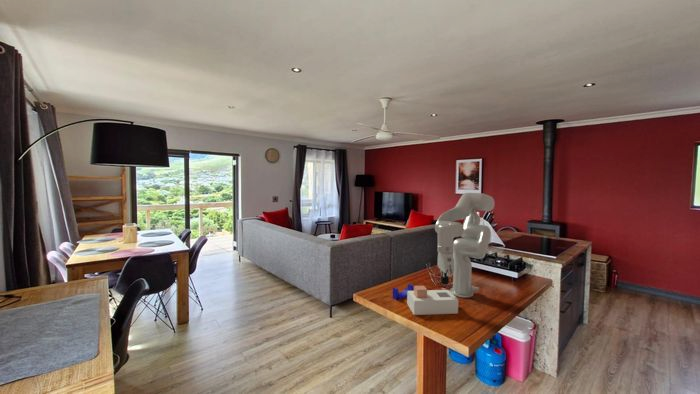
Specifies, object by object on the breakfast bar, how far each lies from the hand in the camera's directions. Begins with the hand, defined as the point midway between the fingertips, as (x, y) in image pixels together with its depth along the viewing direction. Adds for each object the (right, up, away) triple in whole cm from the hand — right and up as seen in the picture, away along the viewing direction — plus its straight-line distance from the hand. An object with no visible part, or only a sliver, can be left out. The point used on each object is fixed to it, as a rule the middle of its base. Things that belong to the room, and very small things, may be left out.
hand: (444, 283), depth 145 cm
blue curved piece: (-19, -12, +14) cm, 26 cm away
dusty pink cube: (-13, -8, -1) cm, 15 cm away
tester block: (-7, -12, 0) cm, 14 cm away
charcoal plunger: (-1, -12, 0) cm, 12 cm away
